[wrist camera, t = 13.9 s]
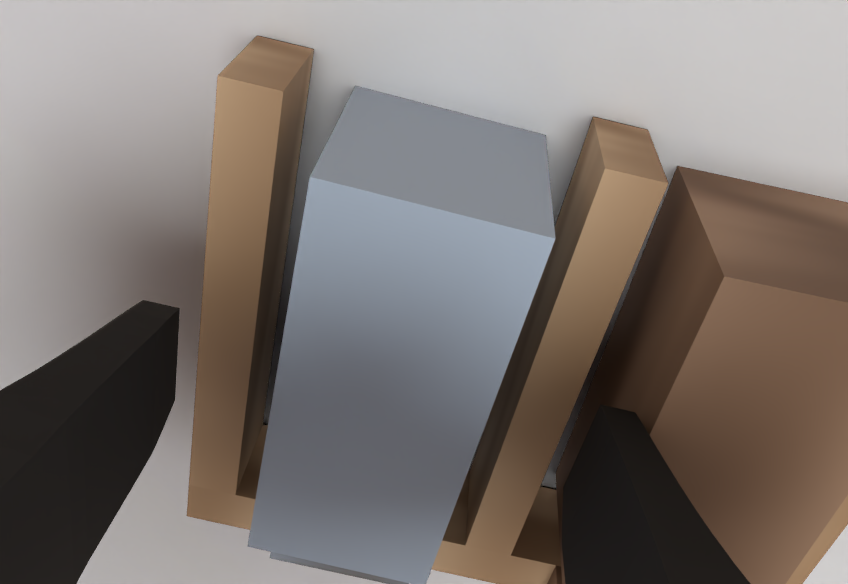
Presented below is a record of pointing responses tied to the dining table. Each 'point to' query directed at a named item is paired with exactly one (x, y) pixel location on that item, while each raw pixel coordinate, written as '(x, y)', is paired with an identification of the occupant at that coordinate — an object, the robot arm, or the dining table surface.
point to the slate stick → (398, 330)
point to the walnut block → (738, 363)
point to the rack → (528, 367)
